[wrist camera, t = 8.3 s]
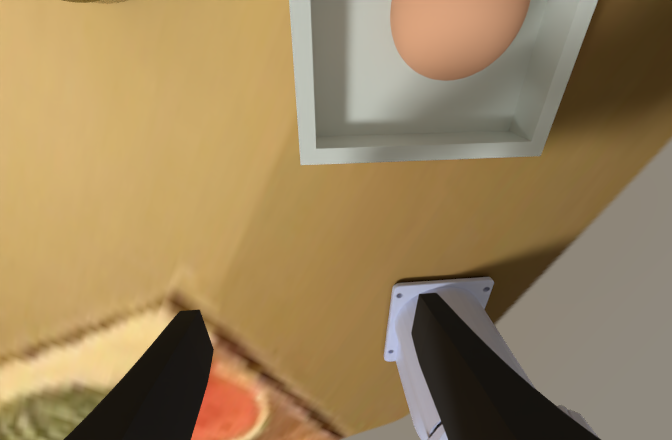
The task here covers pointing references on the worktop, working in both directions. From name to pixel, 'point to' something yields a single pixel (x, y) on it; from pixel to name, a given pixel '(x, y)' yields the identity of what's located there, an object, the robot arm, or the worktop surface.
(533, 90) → the tray
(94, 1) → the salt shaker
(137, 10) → the worktop surface
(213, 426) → the worktop surface
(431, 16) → the ball
